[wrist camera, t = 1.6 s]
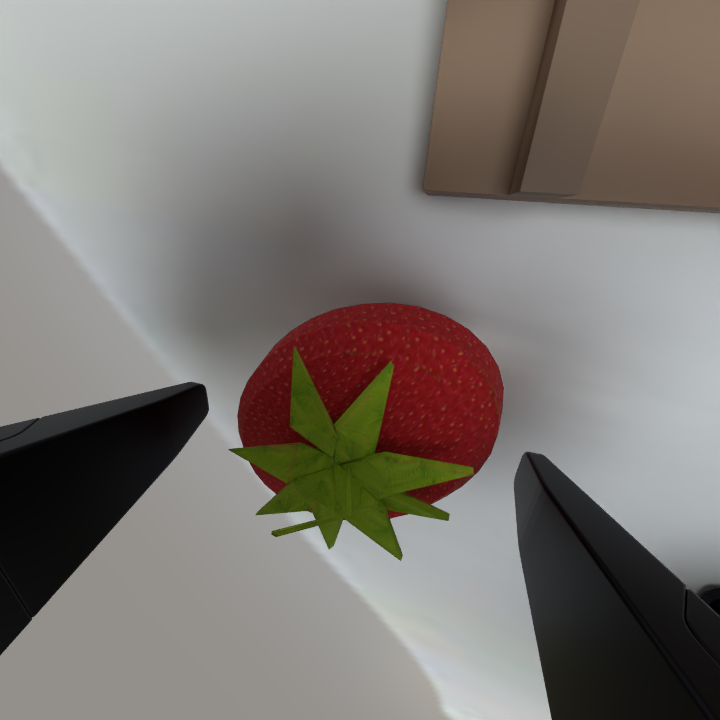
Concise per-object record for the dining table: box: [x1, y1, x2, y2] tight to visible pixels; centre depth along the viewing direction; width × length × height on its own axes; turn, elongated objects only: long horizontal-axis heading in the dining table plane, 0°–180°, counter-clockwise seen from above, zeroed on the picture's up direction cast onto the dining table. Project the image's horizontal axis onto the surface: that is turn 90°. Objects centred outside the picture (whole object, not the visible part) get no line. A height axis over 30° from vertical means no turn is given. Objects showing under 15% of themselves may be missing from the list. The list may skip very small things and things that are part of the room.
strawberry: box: [229, 303, 504, 561], centre depth 9 cm, size 6×8×10 cm
